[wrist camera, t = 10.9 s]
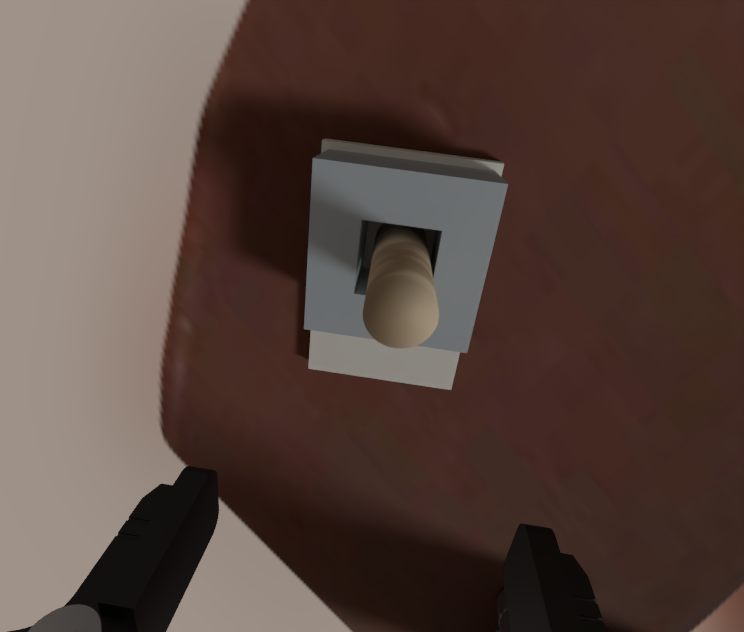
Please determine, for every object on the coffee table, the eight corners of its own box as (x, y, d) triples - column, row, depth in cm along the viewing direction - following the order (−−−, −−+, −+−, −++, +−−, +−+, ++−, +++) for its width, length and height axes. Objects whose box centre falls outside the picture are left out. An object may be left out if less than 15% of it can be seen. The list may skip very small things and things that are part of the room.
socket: (501, 161, 30) (519, 176, 25) (450, 381, 38) (455, 430, 33) (325, 138, 31) (304, 147, 25) (311, 360, 39) (293, 405, 33)
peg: (429, 219, 31) (445, 284, 20) (422, 267, 33) (432, 352, 22) (377, 213, 31) (366, 275, 20) (373, 262, 33) (359, 344, 22)
